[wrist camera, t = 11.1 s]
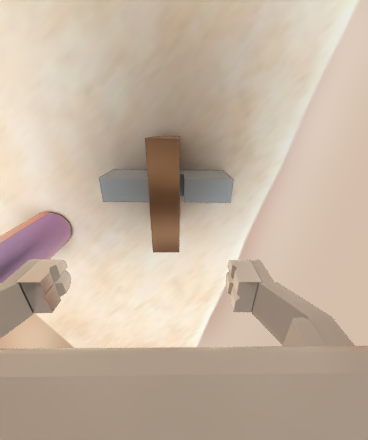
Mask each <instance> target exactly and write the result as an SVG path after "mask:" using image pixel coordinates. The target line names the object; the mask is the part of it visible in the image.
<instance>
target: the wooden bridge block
mask: <svg viewBox="0 0 368 440" xmlns="http://www.w3.org/2000/svg"><path fill="white" fill-rule="evenodd" d="M145 143H146V158H147V172H148V187H149V201H150V216H151V230H152V245H153V252H179V220H180V196H179V170H180V136H155V137H149V138H145Z"/></svg>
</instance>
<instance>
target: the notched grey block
mask: <svg viewBox="0 0 368 440" xmlns="http://www.w3.org/2000/svg"><path fill="white" fill-rule="evenodd" d="M99 181H100V187H101V192H102V198H103V202H150V201H149V187H148V172H147V170H140V169H113V170H112V171H110V172H108V173H106V174H105V175H103V176H101V177H99ZM232 187H233V178H232V177H231V176H230V175H228V174H227V173H226V172H225V171H224V170H179V196H184V202H215V203H231V195H232Z"/></svg>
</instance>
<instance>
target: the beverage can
mask: <svg viewBox="0 0 368 440" xmlns="http://www.w3.org/2000/svg"><path fill="white" fill-rule="evenodd" d="M70 237H71V227H70V225H69V223H68V222H67V220H66V219H65V218H63V217H62V216H60V215H58V214H55V213H50V212H43V213H40V214H38V215H36V216H34V217H33V218H31V219H29V220H27V221H26V222H24V223H22V224H21V225H19V226H17V227H15V228H14V229H12V230H10V231H8V232H7V233H5V234H3V235H2V236H0V283H3V282H4V281H5V280H6V279H7V278H8V277H10V276H11V275H12V274H13V273H14V272H15V271H17V270H18V269H19V268H20V267H21V266H22V265H24V264H25V263H26V262H27V261H28V260H32V259H41V260H42V259H50V258H51V257H52V256H53V255H54V254H55V253H56V252H57V251H58V250H59V249H60V248H61V247H62V246H63V245H65V244H66V243H67V242H68V241H69V239H70Z"/></svg>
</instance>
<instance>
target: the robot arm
mask: <svg viewBox="0 0 368 440" xmlns="http://www.w3.org/2000/svg"><path fill="white" fill-rule="evenodd" d="M66 268H67V264H66V261H64V260H49V259H42V260H41V259H32V260H28V261H27V262H26V263H25V264H24V265H22V266H21V267H20V268H19V269H18V270H17V271H15V272H14V273H13V274H12V275H11V276H10V277H8V278H7V279H6V280H5V281H4V282H3V283H0V338H1V337H3V336H5V335H6V334H7V333H9V332H10V331H11V330H13V329H14V328H15V327H16V326H18V325H19V324H21V323H22V322H23V321H25V320H26V319H27V318H29V317H30V316H31V315H33V313H52V312H53V311H54V310H55V308H56V307H57V305H58V304H59V302H60V301H61V299H60V297H61V296H62V295H64V294H65V293H66V292H67V291H68V289H69V287H70V284H71V276H70V274H69V273H68V272H67V271H66ZM228 269H229V272H228V273H227V275H226V286H227V291H228V293H229V294H230V295H231V298H230V301H231V305H232V308H233V311H234V312H252V314H253V315H254V316H255V317H256V318H257V319H258V320H259V321H260V322H261V323H262V324H263V325H264V326H265V327H266V328H267V329H268V331H270V333H271V334H272V335H273V336H274V337H275V338H276V339H277V340H278V341H279V342H280V343H281V344H282V345H283V346H282V347H160V348H41V349H40V348H38V349H0V440H368V346H355V345H354V344H353V343H352V342H351V340H350V339H349V338H348V336H347V335H346V334H345V333H344V331H343V330H342V329H341V328H340V326H339V325H338V324H337V323H336V322H335V320H334V319H333V318H332V317H331V316H330V315H328V314H326V313H325V312H323V311H322V310H320V309H319V308H317V307H315V306H314V305H312V304H311V303H309V302H308V301H306V300H304V299H303V298H301V297H300V296H298V295H296V294H295V293H293V292H292V291H290V290H288V289H287V288H285V287H284V286H282V285H281V284H279V283H275V282H274V281H273V280H272V278H271V276H270V275H269V273H268V271H267V270H266V268H265V267H264V265H263V263H262V262H261V261H260V260H229V262H228Z"/></svg>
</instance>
